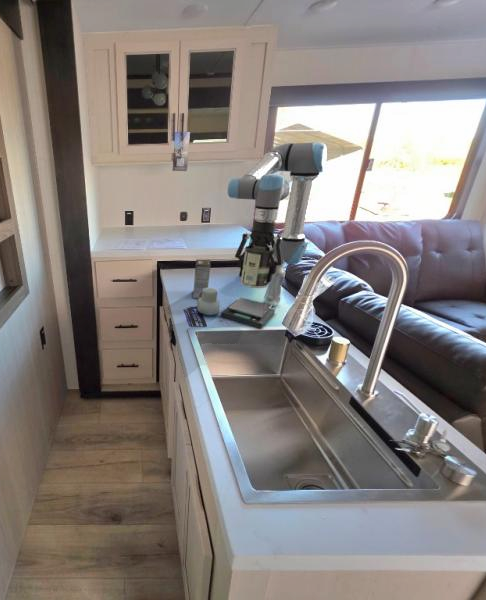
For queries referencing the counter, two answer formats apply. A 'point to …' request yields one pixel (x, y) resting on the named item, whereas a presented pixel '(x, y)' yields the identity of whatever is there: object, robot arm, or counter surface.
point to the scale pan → (250, 308)
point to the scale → (247, 317)
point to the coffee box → (201, 277)
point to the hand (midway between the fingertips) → (254, 278)
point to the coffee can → (256, 267)
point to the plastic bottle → (275, 287)
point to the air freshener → (208, 302)
